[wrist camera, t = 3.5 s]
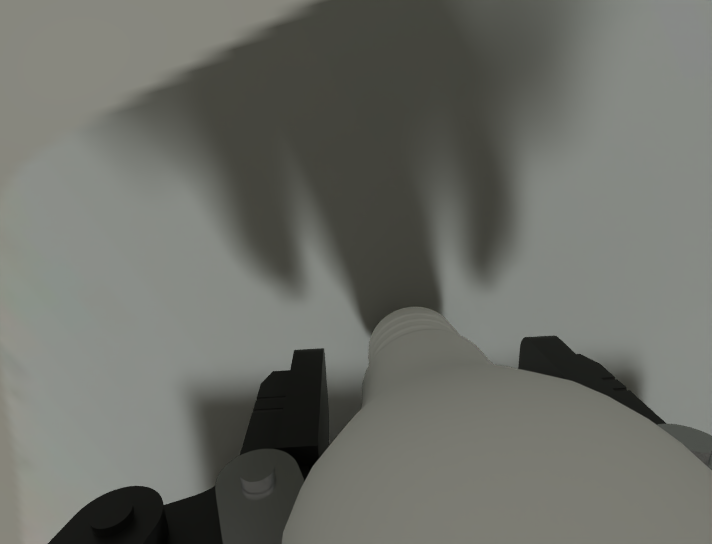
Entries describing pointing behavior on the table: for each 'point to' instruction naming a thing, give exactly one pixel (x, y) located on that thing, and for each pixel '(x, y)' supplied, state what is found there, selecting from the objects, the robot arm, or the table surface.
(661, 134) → the table surface
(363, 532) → the lightbulb
